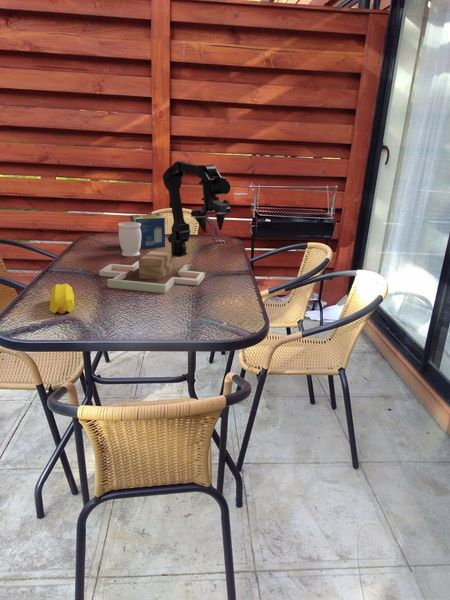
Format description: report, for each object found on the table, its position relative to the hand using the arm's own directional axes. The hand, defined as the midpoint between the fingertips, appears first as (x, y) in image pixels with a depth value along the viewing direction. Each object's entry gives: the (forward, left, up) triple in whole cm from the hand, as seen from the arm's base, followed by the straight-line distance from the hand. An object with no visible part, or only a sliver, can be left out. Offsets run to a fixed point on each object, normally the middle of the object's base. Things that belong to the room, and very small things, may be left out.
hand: (212, 231), depth 197 cm
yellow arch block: (-16, -70, -16) cm, 74 cm away
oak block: (-13, -23, -16) cm, 31 cm away
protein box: (-45, +11, -16) cm, 49 cm away
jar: (-41, -7, -16) cm, 45 cm away
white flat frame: (-11, -29, -16) cm, 35 cm away
